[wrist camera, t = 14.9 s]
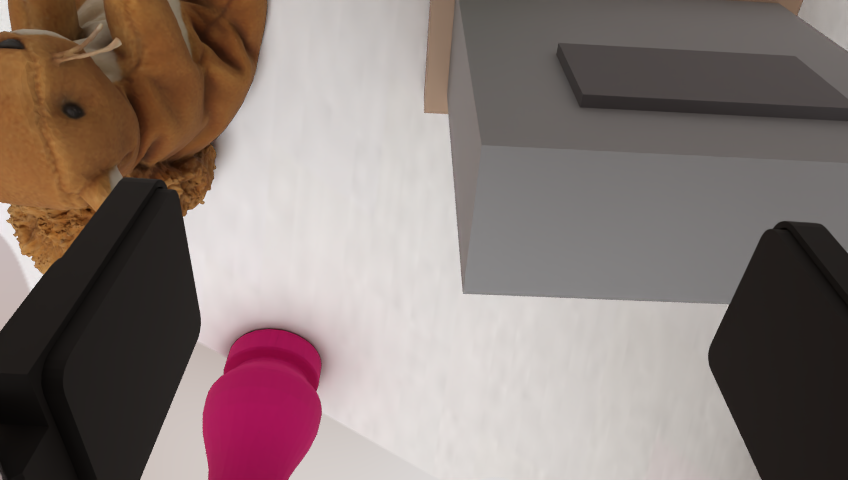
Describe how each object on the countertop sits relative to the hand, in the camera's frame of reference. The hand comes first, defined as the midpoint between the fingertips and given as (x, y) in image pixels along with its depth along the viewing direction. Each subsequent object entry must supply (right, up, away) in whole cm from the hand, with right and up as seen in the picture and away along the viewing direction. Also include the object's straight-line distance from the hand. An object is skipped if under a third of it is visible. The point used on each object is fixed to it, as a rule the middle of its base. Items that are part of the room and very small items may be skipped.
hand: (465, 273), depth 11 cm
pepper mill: (-11, -8, +34) cm, 36 cm away
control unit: (+7, +10, +20) cm, 24 cm away
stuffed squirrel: (-14, +9, +22) cm, 27 cm away
